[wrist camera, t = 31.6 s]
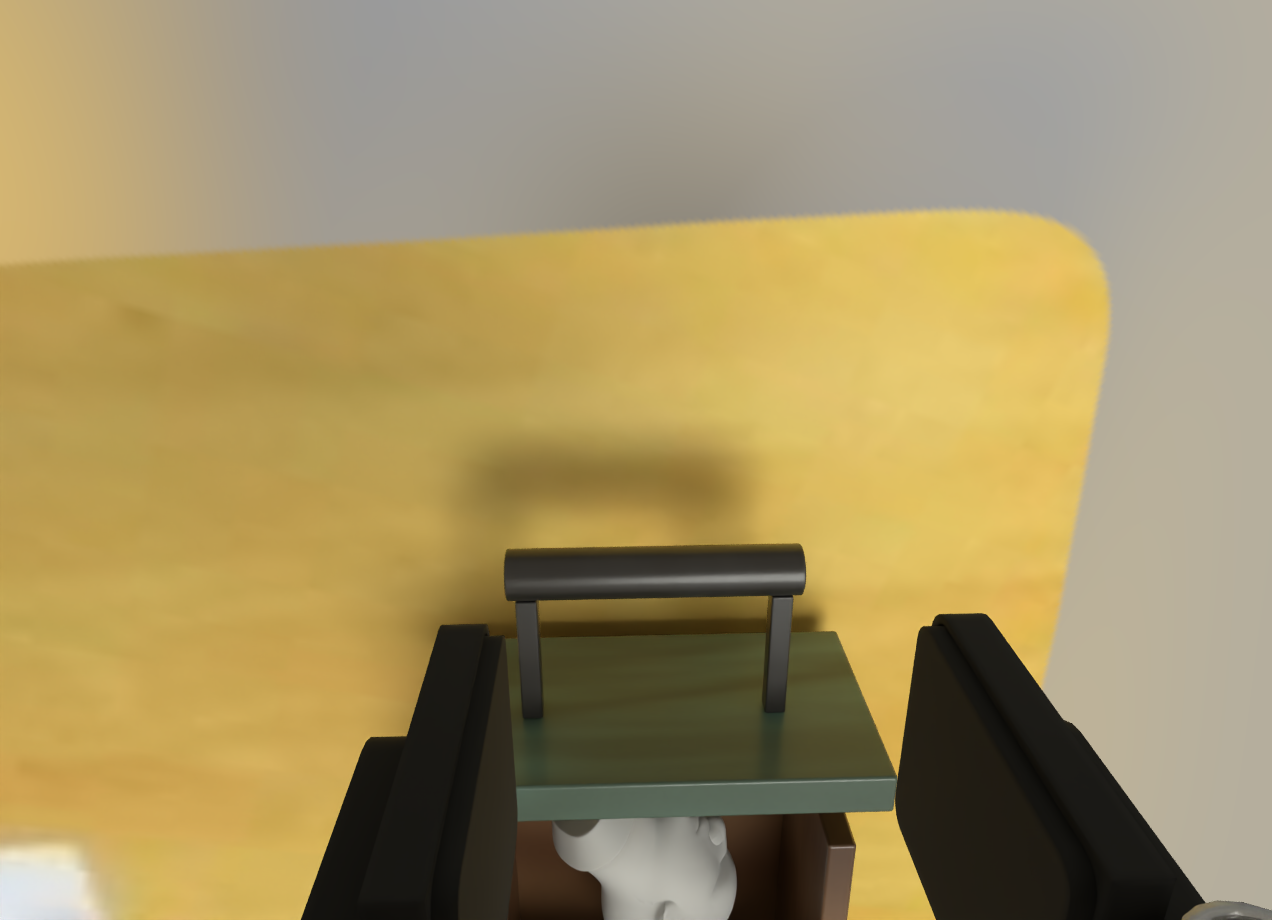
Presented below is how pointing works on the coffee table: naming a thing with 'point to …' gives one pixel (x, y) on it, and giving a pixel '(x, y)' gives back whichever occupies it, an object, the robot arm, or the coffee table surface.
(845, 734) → the drawer
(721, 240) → the coffee table surface
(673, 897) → the pale two-lobed sculpture
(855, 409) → the coffee table surface
